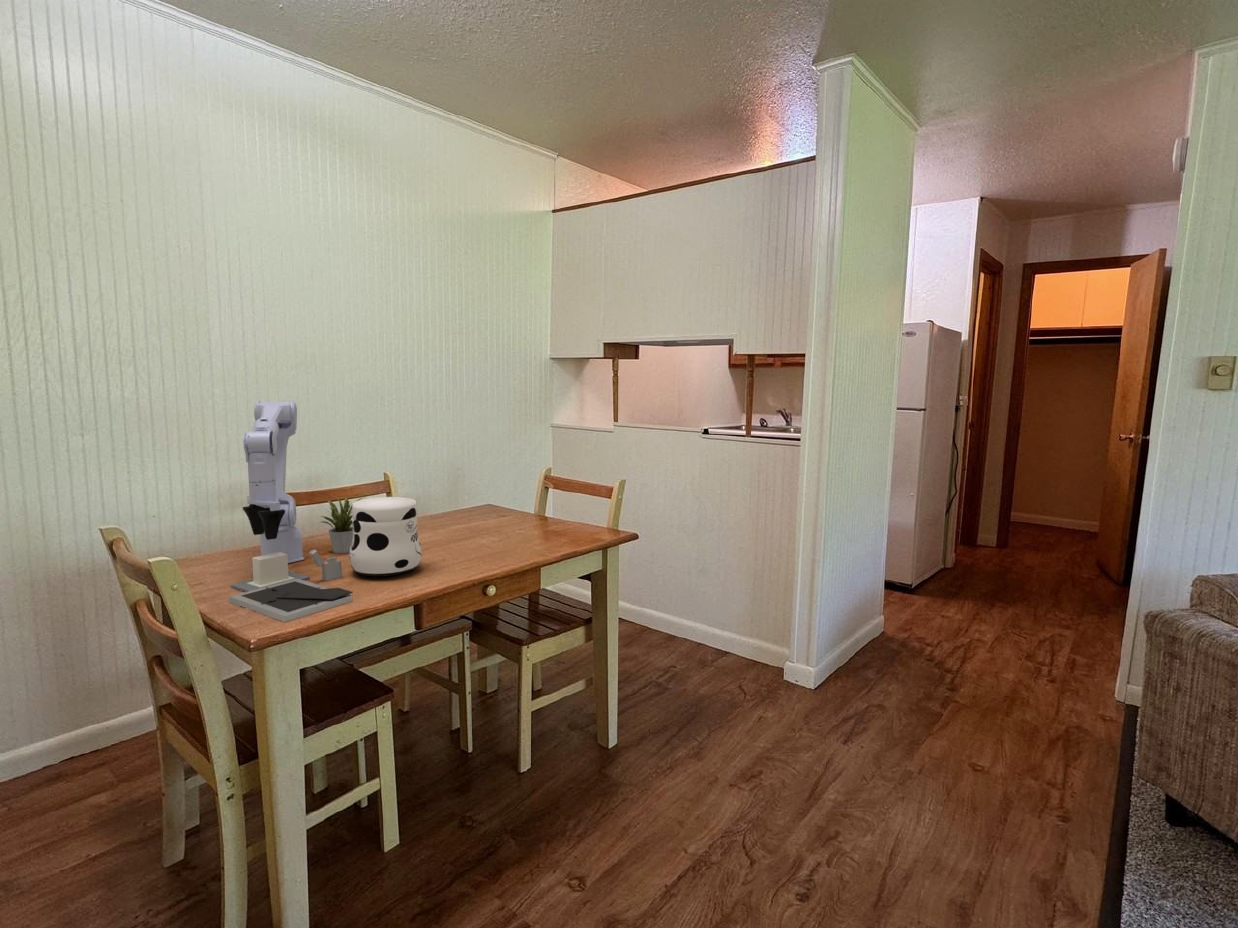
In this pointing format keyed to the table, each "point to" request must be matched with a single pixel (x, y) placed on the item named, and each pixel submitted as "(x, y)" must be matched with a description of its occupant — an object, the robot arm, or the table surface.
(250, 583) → the mat
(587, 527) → the table surface
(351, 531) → the house plant
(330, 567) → the lighter
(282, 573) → the beige rectangular block
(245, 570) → the table surface
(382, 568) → the milk container
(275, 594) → the picture frame
